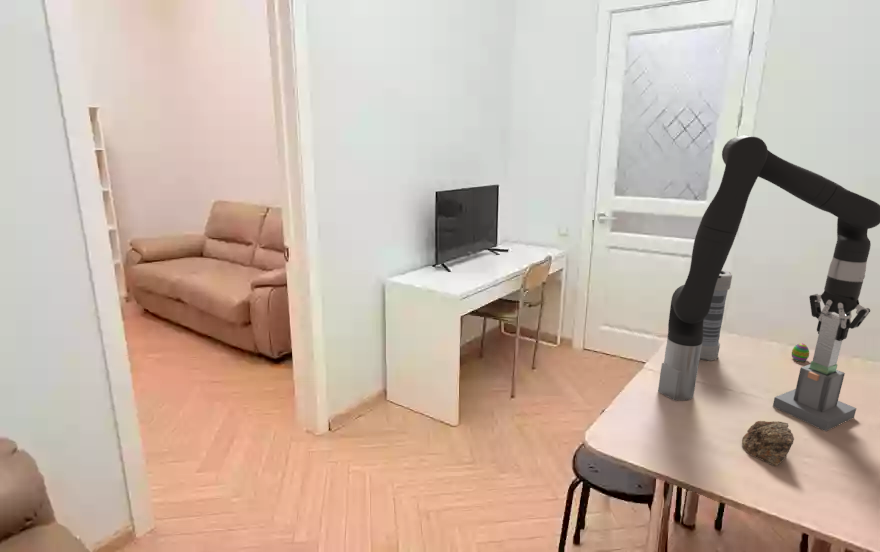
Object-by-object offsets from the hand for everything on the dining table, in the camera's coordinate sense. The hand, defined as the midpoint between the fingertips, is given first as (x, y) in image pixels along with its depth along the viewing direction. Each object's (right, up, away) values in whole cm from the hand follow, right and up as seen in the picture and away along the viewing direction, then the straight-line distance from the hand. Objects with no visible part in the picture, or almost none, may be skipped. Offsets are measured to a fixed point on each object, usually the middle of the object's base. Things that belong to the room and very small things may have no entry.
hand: (830, 336), depth 142 cm
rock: (-24, -27, -10) cm, 38 cm away
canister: (-14, -11, +42) cm, 46 cm away
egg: (+17, -12, +38) cm, 44 cm away
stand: (0, -22, +7) cm, 23 cm away
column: (0, -14, +4) cm, 14 cm away
